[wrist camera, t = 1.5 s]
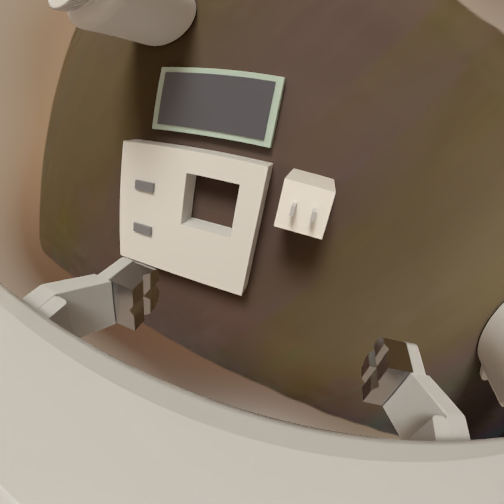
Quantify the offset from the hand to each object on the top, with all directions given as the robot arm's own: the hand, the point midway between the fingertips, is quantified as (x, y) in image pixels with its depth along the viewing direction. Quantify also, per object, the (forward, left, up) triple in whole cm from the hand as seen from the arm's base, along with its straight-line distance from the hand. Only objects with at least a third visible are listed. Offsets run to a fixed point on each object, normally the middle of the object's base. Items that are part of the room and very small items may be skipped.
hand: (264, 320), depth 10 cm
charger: (0, 0, -20) cm, 20 cm away
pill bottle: (+19, -17, -20) cm, 32 cm away
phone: (+11, -7, -21) cm, 24 cm away
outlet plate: (+12, +5, -20) cm, 24 cm away
